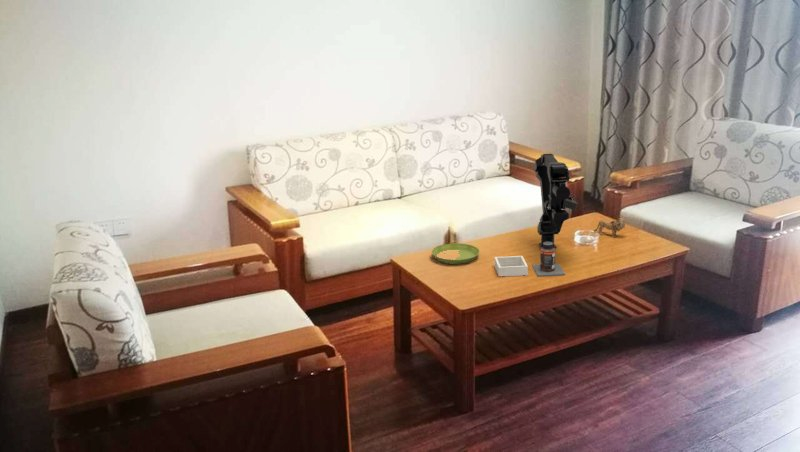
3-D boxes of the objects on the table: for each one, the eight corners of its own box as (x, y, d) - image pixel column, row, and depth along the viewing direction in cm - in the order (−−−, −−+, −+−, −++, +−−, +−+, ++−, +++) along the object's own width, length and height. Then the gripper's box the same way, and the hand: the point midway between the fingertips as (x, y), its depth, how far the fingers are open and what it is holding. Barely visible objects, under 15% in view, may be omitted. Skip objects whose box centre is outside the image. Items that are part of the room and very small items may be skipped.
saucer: (472, 268, 278) (472, 261, 277) (426, 264, 285) (425, 257, 284) (484, 251, 296) (484, 244, 295) (439, 247, 303) (439, 241, 302)
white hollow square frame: (494, 265, 279) (494, 257, 277) (522, 264, 279) (522, 255, 277) (498, 276, 268) (498, 267, 266) (527, 275, 268) (527, 266, 266)
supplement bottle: (557, 270, 269) (558, 244, 266) (544, 272, 268) (544, 246, 264) (550, 265, 275) (551, 239, 271) (537, 267, 273) (538, 241, 270)
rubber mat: (532, 266, 277) (532, 264, 276) (558, 265, 277) (558, 263, 276) (537, 276, 266) (537, 275, 266) (565, 275, 266) (565, 273, 266)
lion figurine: (626, 236, 306) (627, 217, 303) (621, 239, 302) (623, 220, 299) (595, 230, 315) (596, 212, 312) (591, 233, 311) (591, 215, 308)
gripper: (582, 198, 267) (580, 235, 272) (570, 186, 284) (569, 221, 289) (554, 200, 267) (553, 236, 272) (544, 187, 284) (543, 222, 289)
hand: (555, 228), depth 280 cm, fingers open, 9 cm apart
